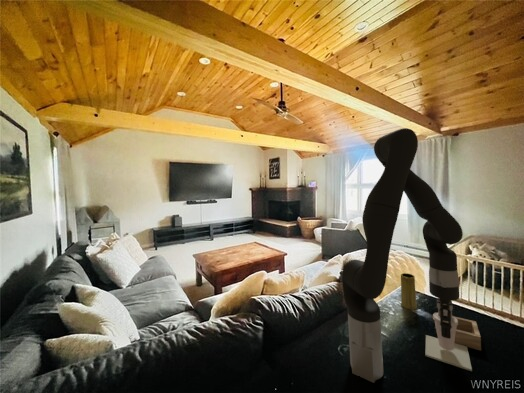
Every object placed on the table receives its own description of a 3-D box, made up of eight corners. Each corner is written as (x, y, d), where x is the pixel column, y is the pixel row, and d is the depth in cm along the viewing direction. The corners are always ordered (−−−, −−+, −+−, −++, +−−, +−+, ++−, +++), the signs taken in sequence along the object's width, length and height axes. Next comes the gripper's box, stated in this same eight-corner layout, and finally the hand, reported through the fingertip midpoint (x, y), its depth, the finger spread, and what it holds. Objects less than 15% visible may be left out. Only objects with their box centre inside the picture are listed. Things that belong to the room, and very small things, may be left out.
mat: (471, 371, 65) (471, 369, 65) (425, 356, 71) (425, 354, 71) (467, 348, 73) (467, 346, 73) (426, 336, 80) (425, 334, 80)
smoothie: (464, 354, 68) (462, 310, 68) (440, 352, 70) (439, 309, 69) (451, 340, 75) (449, 300, 74) (429, 338, 76) (428, 299, 75)
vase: (416, 304, 101) (415, 273, 100) (417, 311, 96) (416, 279, 95) (401, 301, 104) (399, 272, 103) (401, 308, 99) (399, 276, 98)
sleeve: (481, 350, 72) (480, 337, 72) (441, 339, 78) (441, 327, 78) (476, 333, 80) (475, 321, 80) (440, 324, 86) (440, 313, 86)
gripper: (429, 271, 79) (431, 316, 80) (428, 287, 68) (431, 339, 69) (456, 275, 75) (458, 323, 75) (461, 293, 63) (463, 349, 64)
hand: (445, 330), depth 72 cm, fingers closed on smoothie, 6 cm apart
